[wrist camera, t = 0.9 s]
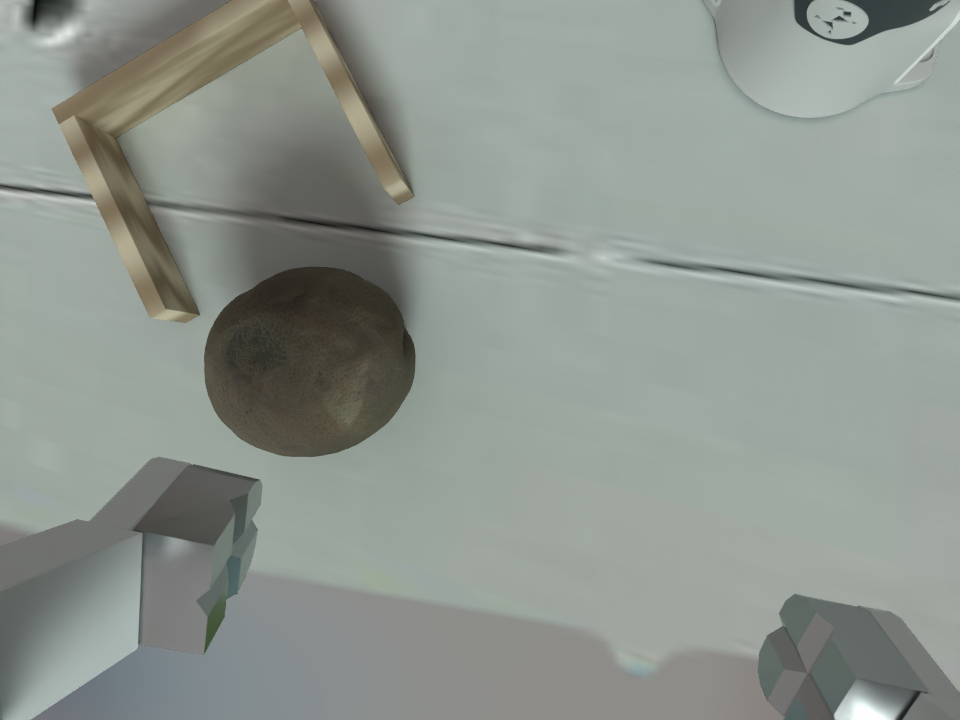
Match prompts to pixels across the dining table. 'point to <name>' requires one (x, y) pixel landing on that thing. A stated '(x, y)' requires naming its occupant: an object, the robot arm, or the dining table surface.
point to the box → (165, 80)
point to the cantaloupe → (309, 362)
